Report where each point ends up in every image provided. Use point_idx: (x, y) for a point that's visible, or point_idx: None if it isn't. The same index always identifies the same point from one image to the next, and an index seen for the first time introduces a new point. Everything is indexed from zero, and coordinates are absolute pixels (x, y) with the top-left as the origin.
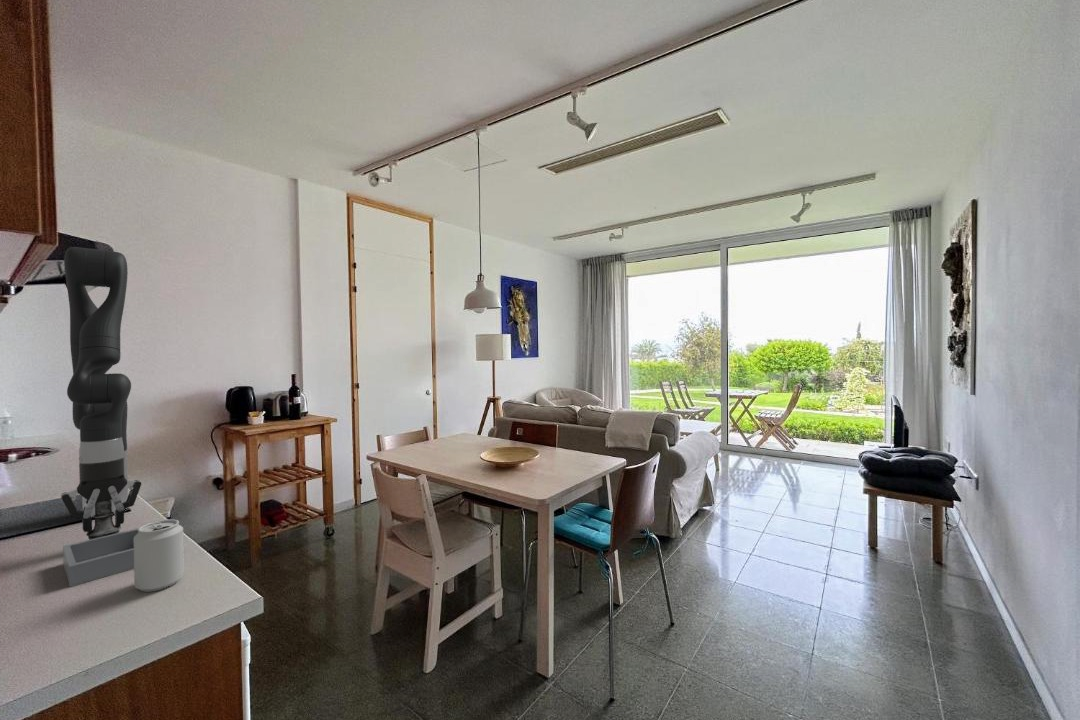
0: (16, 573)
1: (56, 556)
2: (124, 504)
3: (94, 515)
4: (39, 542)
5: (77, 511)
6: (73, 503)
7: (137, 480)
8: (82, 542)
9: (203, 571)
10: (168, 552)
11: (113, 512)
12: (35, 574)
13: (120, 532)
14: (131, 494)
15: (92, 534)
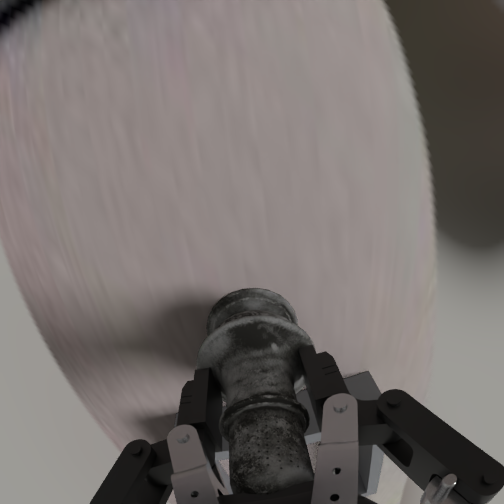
0: (91, 401)
1: (131, 345)
2: (365, 442)
3: (226, 435)
4: (30, 144)
5: (168, 496)
6: (124, 499)
7: (493, 496)
8: (216, 457)
9: (391, 492)
10: None
11: (307, 420)
12: (138, 430)
13: (314, 434)
14: (414, 478)
15: (224, 396)
